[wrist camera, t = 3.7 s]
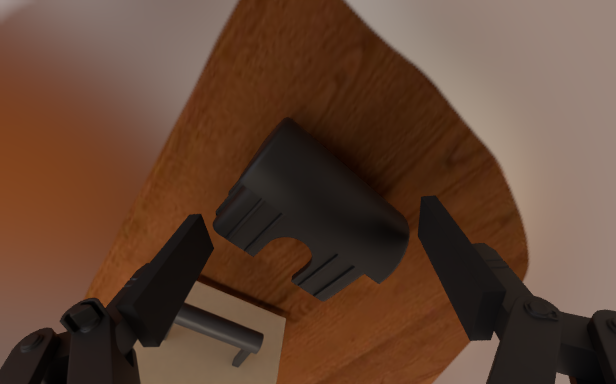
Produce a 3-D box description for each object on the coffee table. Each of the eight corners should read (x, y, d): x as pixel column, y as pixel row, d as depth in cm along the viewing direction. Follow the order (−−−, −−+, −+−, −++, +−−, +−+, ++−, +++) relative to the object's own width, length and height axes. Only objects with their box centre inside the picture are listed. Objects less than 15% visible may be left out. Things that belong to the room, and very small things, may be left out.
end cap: (396, 194, 20) (425, 257, 14) (331, 246, 23) (332, 317, 17) (294, 103, 17) (276, 133, 11) (235, 175, 20) (196, 230, 14)
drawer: (167, 232, 22) (82, 332, 14) (307, 294, 25) (297, 407, 17) (131, 328, 29) (60, 429, 21) (242, 369, 32) (214, 472, 24)
